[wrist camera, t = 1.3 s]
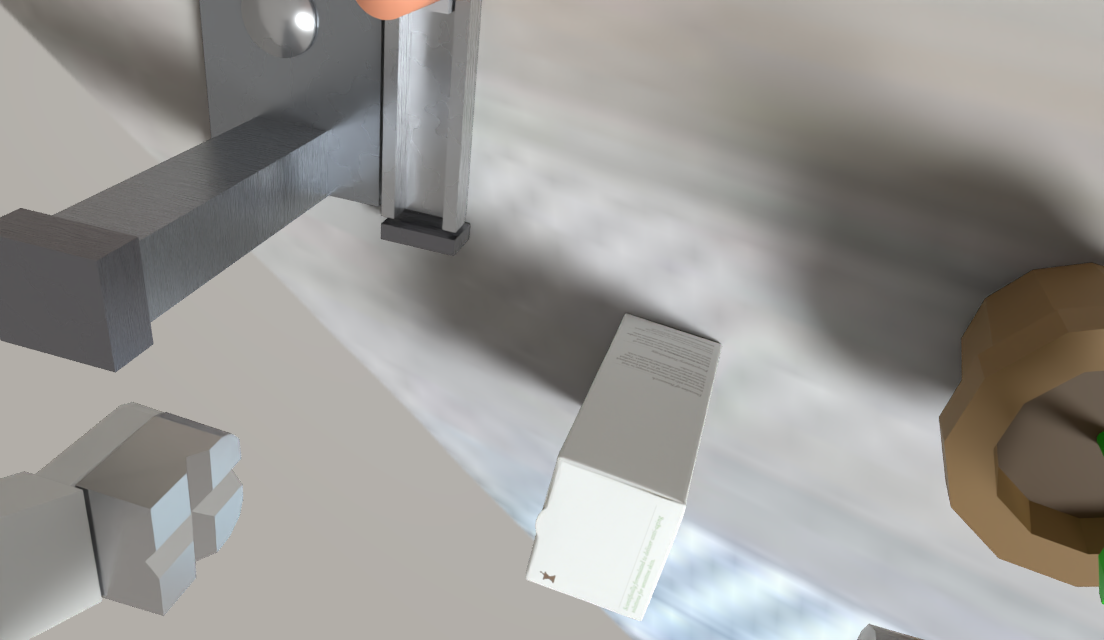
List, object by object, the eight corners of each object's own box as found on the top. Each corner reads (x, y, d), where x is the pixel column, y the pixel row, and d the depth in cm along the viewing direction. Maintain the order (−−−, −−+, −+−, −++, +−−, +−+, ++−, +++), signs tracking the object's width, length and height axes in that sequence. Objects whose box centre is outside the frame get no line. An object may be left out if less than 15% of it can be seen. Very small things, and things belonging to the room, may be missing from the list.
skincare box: (685, 444, 55) (644, 631, 42) (588, 411, 56) (517, 584, 43) (726, 338, 51) (694, 510, 38) (620, 303, 52) (552, 460, 39)
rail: (409, -120, 44) (387, -118, 41) (495, -106, 43) (477, -104, 41) (399, 222, 53) (381, 238, 51) (469, 238, 52) (453, 255, 50)
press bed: (206, -120, 46) (-172, -99, 29) (395, -89, 44) (115, -46, 27) (228, 170, 55) (-53, 325, 37) (388, 206, 53) (172, 388, 35)
